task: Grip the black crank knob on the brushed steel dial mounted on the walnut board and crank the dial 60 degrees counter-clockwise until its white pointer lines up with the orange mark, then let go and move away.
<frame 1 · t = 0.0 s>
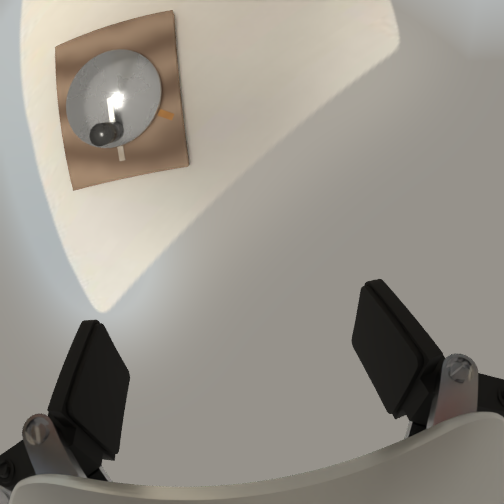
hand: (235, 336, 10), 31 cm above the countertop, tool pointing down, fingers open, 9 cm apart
dial board: (118, 98, 30), on the countertop
dial: (104, 97, 25), point 5 cm above the countertop, hinge at 0.0°
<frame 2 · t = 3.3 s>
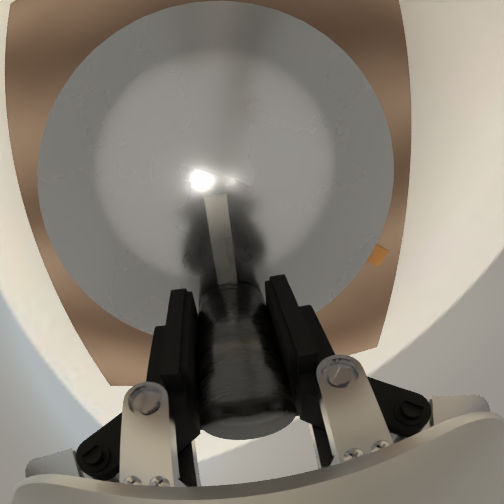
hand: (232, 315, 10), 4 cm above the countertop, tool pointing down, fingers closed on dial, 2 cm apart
dial board: (214, 173, 12), on the countertop
dial: (216, 216, 7), point 5 cm above the countertop, hinge at 0.0°, touching gripper
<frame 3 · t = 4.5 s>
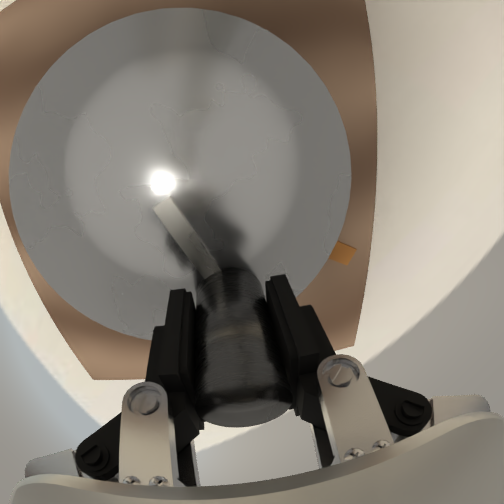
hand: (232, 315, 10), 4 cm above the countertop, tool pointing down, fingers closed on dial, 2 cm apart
dial board: (174, 175, 12), on the countertop
dial: (150, 224, 7), point 5 cm above the countertop, hinge at 22.1°, touching gripper
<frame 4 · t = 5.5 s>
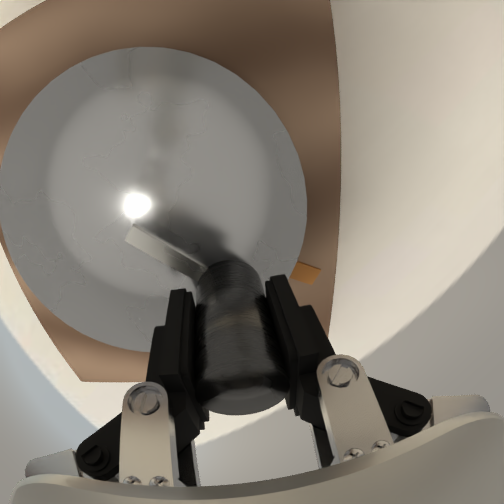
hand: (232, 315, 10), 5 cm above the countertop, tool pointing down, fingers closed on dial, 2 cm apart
dial board: (147, 199, 13), on the countertop
dial: (114, 257, 8), point 5 cm above the countertop, hinge at 47.2°, touching gripper
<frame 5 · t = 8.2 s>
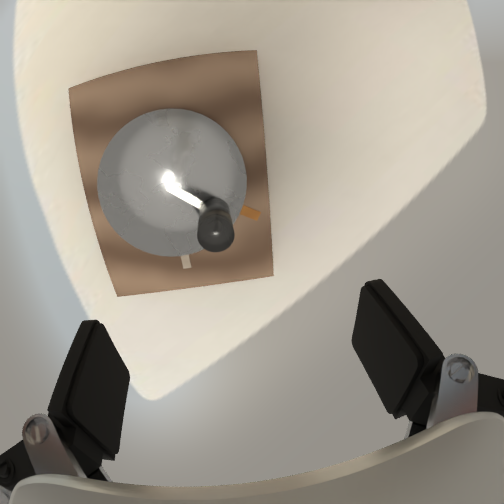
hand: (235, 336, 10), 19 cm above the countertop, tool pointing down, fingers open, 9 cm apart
dial board: (173, 177, 25), on the countertop
dial: (165, 192, 21), point 5 cm above the countertop, hinge at 50.8°
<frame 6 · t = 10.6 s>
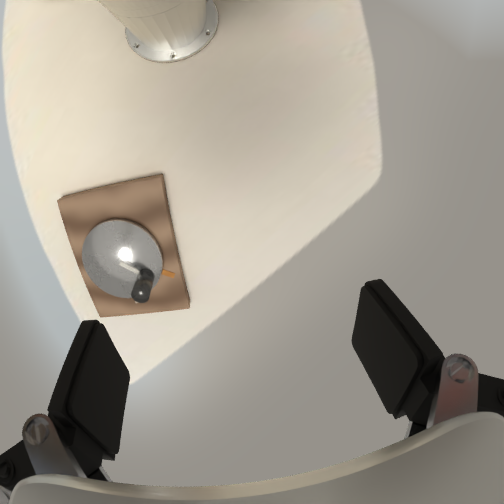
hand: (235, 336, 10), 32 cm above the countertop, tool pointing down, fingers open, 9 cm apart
dial board: (125, 251, 42), on the countertop
dial: (116, 269, 37), point 5 cm above the countertop, hinge at 50.8°
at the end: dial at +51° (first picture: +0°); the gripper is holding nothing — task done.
